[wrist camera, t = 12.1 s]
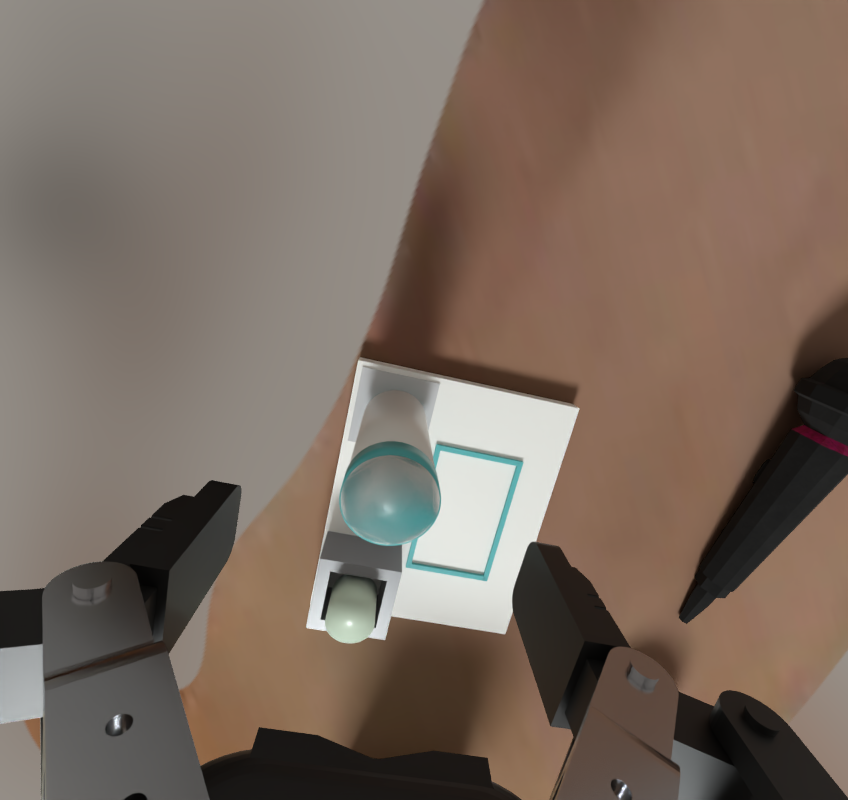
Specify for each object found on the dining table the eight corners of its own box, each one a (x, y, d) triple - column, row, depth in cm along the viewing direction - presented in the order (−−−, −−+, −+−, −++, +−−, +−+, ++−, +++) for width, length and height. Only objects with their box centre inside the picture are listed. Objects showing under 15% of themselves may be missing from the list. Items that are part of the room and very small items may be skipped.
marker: (370, 378, 24) (349, 444, 15) (432, 391, 25) (451, 464, 15) (358, 436, 25) (331, 536, 15) (418, 448, 26) (428, 553, 16)
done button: (336, 569, 25) (329, 598, 23) (381, 576, 25) (379, 606, 23) (328, 607, 26) (321, 639, 23) (372, 614, 26) (369, 646, 24)
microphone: (676, 587, 34) (856, 355, 27) (743, 657, 29) (982, 396, 23) (627, 584, 32) (810, 331, 25) (691, 660, 27) (939, 370, 20)
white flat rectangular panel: (360, 357, 25) (357, 360, 24) (573, 403, 26) (581, 409, 25) (313, 592, 29) (309, 605, 28) (502, 623, 30) (506, 636, 29)
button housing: (327, 530, 27) (319, 558, 24) (402, 544, 27) (402, 572, 24) (315, 594, 28) (305, 627, 25) (386, 606, 28) (385, 639, 26)
